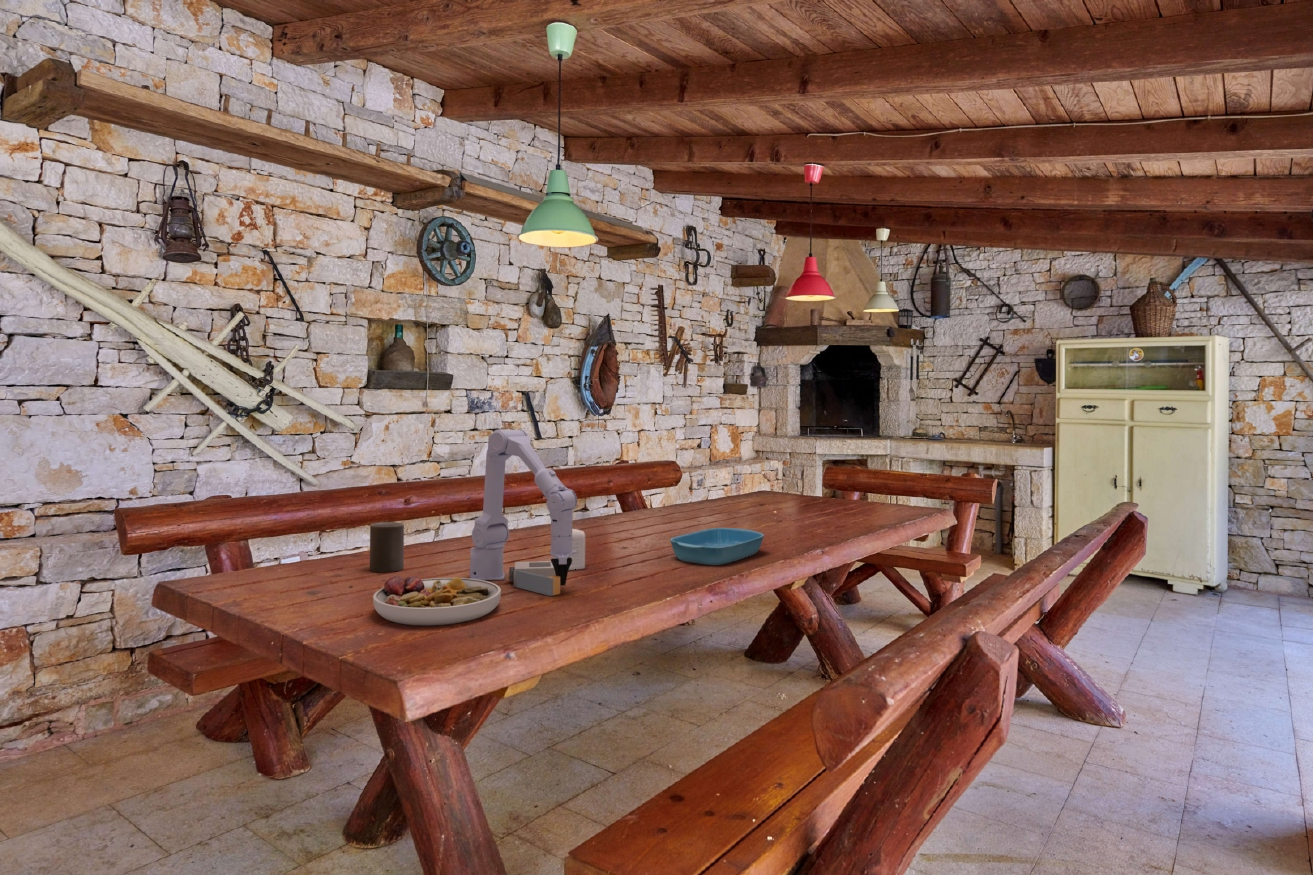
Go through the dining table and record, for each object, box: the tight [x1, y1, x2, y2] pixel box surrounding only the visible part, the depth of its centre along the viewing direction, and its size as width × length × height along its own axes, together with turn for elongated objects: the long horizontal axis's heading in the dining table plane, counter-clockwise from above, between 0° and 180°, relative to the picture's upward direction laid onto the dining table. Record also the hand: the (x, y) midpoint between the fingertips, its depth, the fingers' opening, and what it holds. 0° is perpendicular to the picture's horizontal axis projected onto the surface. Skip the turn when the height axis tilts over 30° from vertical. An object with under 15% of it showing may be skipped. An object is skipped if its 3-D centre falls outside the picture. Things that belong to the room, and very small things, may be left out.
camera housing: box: [508, 560, 556, 582], centre depth 223 cm, size 14×9×5 cm, turn 99°
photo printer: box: [552, 528, 586, 571], centre depth 240 cm, size 10×4×12 cm, turn 123°
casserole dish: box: [670, 527, 765, 566], centre depth 262 cm, size 37×22×7 cm, turn 143°
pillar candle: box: [369, 519, 405, 574], centre depth 237 cm, size 10×10×15 cm
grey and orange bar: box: [513, 570, 561, 597], centre depth 213 cm, size 15×4×5 cm, turn 50°
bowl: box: [372, 575, 502, 627], centre depth 193 cm, size 30×30×8 cm
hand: (561, 585), depth 212 cm, fingers closed
